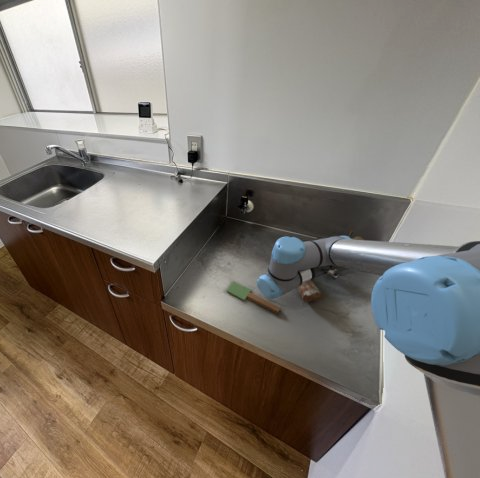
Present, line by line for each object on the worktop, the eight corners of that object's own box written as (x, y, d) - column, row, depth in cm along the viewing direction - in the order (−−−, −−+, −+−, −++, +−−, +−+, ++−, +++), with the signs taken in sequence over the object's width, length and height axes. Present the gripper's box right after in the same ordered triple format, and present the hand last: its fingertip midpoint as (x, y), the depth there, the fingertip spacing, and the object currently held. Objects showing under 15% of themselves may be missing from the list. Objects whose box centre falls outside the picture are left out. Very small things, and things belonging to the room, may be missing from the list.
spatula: (281, 306, 85) (282, 304, 84) (275, 317, 82) (276, 315, 81) (233, 282, 95) (233, 280, 94) (226, 291, 92) (226, 289, 91)
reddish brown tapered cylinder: (302, 305, 84) (306, 295, 81) (283, 264, 99) (286, 254, 95) (321, 304, 84) (326, 294, 80) (299, 264, 98) (303, 253, 95)
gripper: (275, 258, 88) (322, 236, 94) (328, 301, 73) (381, 273, 79) (279, 242, 84) (329, 221, 89) (337, 285, 68) (393, 256, 74)
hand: (353, 245), depth 84 cm, fingers closed on kendama, 8 cm apart
